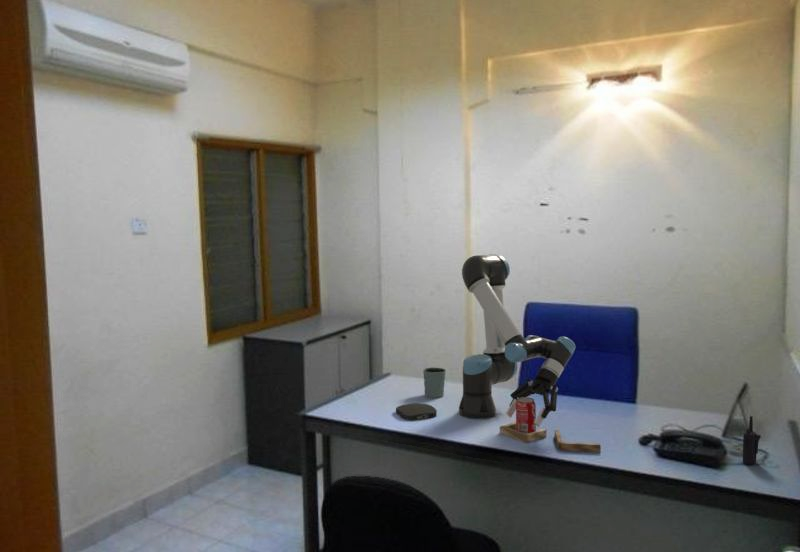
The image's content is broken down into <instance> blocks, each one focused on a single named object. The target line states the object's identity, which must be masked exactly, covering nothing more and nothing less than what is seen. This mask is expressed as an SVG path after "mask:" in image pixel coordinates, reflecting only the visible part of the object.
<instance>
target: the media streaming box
mask: <svg viewBox="0 0 800 552" xmlns="http://www.w3.org/2000/svg"><path fill="white" fill-rule="evenodd" d="M437 411H438V410H437V409H436V408H435V407H434V406H432V405H431V404H427V403H418V402H415V403H414V402H413V403H412V402H411V403H406V404H401V405H398V406H396V408H395V413H396V415H398V416H399V417H400V418H401V419H403V420H406V421H418V420H426V419H427V420H429V419H434V418H435V417H437V413H438V412H437Z"/></svg>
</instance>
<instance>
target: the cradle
mask: <svg viewBox="0 0 800 552" xmlns="http://www.w3.org/2000/svg"><path fill="white" fill-rule="evenodd" d="M554 438H555V442H556V446H557V447H556V448H557V450H559V451H561V452H562V451H563V452H565V451H566V452H582V453H583V452H586V453H588V452H589V453H601V447H602V446H601V443H596V442H576V441H575V442H574V441H573V442H571V441H563V438H562V436H561V432H560V430H559V429H554Z"/></svg>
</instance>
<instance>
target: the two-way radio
mask: <svg viewBox="0 0 800 552" xmlns="http://www.w3.org/2000/svg"><path fill="white" fill-rule="evenodd" d="M753 421H754V420H753V416H752V415H750V416H749V425H748V428H746V431H745V432H743V439H742V441H743V442H742V463H743V464H746V465H754V464H756V463H757V455H758V452H759V442H760V439H761V437H762V436H761V434H757V432H755V431H753V430H754V429H753V428H754V427H753V426H754V424H753V423H754V422H753Z"/></svg>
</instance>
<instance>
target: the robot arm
mask: <svg viewBox="0 0 800 552" xmlns="http://www.w3.org/2000/svg"><path fill="white" fill-rule="evenodd" d="M510 269H511V268H510V265H509V262H508V261H507V259H505V258H504V256H502V255H500V254H483V255H481V254H480V255H471V256H470V257H468V258H467V259H466V260H465V261H464V263H463V264H462V269H461V276H462V279H463V283H464V285H465V288H466V289H467V291H468V292H469V294H470V293H471V294H473V295H474V297H475V299H476V301H478V303H479V305H480V307H481V309H482V310H483V321H484V334H485V335H484V336H485V343H486V344H485V345H486V346H485V348H484V349H483V352H482V353H483V354H481V353H479V354H472V355H469V356H467V357H466V358H464V359H463V363H462V397H461V400H460V402H459V403H460V404H459V406H458V415H460V416H462V417H464V418H467V419H474V420H481V419H482V420H483V419H484V420H485V419H490V418H493V417H495V416H496V415H497V407H496V405H495V402H494V399H493V396H492V393H493V392H492V391H493V389H492V386H494V385H497V384H499V383H500V384H501V383H505V382H508V381H510V380H512V379H513V378H514V377H515V375H516V374H517V371H518V363H522V362H524V361H528V360H531V359H535V358H542V359H545V360H544V362H543V363H542V365H541V366H540V367H541V368H539V370H538V372H537V373H536V376H535V379H534V380H531V378H529V377H528V378H527V379H526V380H525V382H524V383H523V384H522V385H520V386H519V387H517V388H516V390H513V392H512V393H511V394H510V397H511V398H512V400H511V402H510V403H509V407H508V409H507V411H506V412H505V413H506V416H508V417H509V418H512V417H513V415H514V413H516V402H517V399H518V398H521V397H529V396H532V395H540V396H542V398H543V405H544V407H541V408H540V409H541V410H540V411H539V412H538V415H536V420H535V421H534V423H535V424H536V427H540V426H541V425H542V423H543V421H544V420H545V419H547V417H548V416H549V413H550V412H556V411H557V405H558V403H557V401H558V400H557V399H558V393H559V391H560V389H559V388H558V386H557V385H556V384H557V382H558V380H559V378H560V377H561V374H562V373H563V371H564V370H565V368H566V366H567V365H568V362H569V360H570V359H571V358H572V356H573V354H574V352H575V350H576V347H577V346H576V344H575V342H574V341H573V340H572V339H570V338H569V337H566V336H559V337H558V339H556V340H552V339H548V338H544V337H540V336H538V335H532V334H529V335H527V336H526V337H525V338H524V336H523V335H522V333H521V332H520V330H519V329H518V327H517V326H516V324H515V323H514V321H513V319H512V317H511V316H510V314H509V313H508V311H507V309H506V308H505V306H504V295H503V289H504V288H505V287H506V280H507V279H508V277H509V276H510V272H511V271H510ZM549 392H550V394H549ZM549 395H550V396H549Z"/></svg>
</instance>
